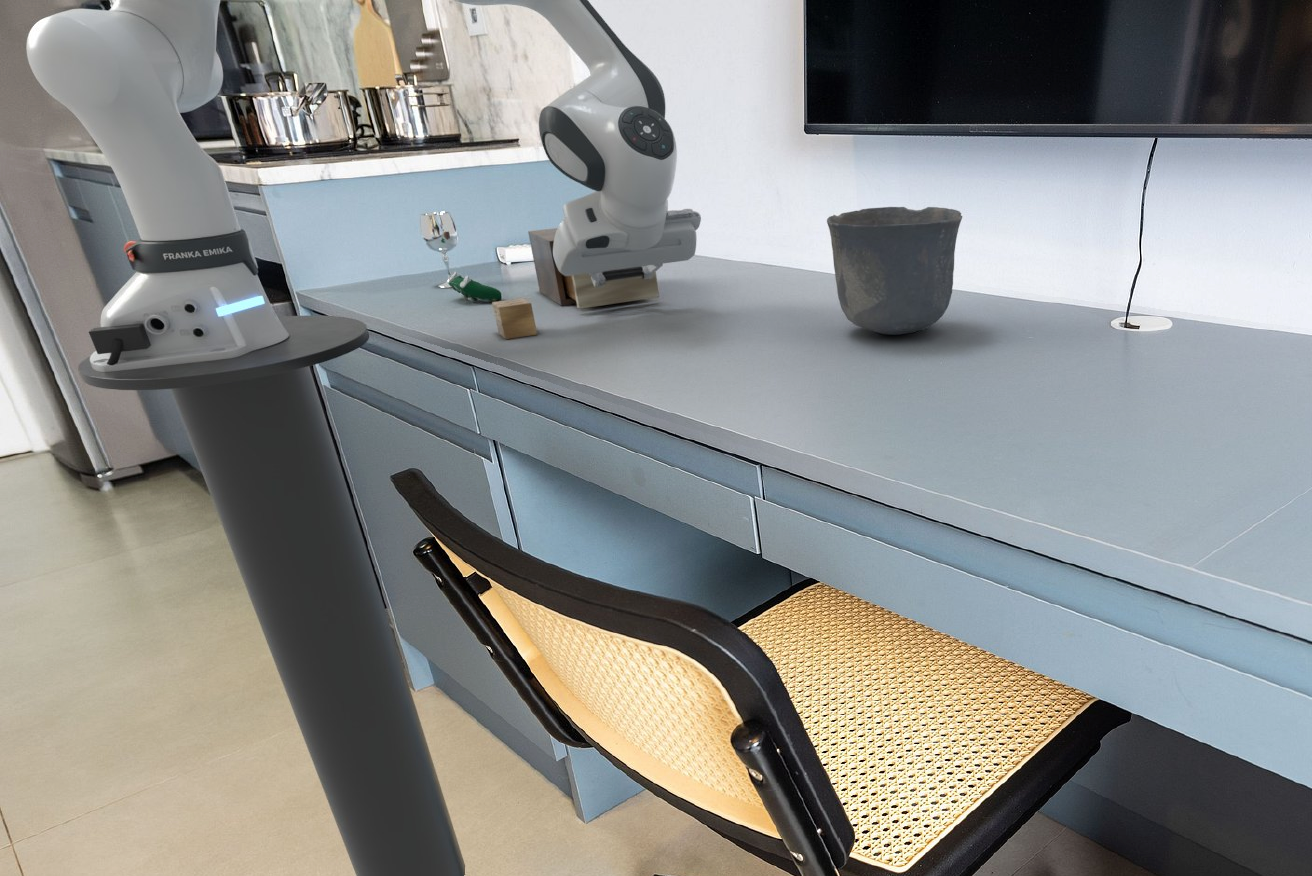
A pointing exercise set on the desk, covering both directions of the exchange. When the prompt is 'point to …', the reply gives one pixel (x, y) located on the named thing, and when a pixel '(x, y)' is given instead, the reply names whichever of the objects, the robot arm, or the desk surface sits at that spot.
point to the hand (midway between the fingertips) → (621, 279)
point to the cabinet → (548, 266)
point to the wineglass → (439, 235)
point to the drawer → (610, 287)
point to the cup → (894, 266)
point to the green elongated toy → (473, 289)
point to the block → (514, 318)
